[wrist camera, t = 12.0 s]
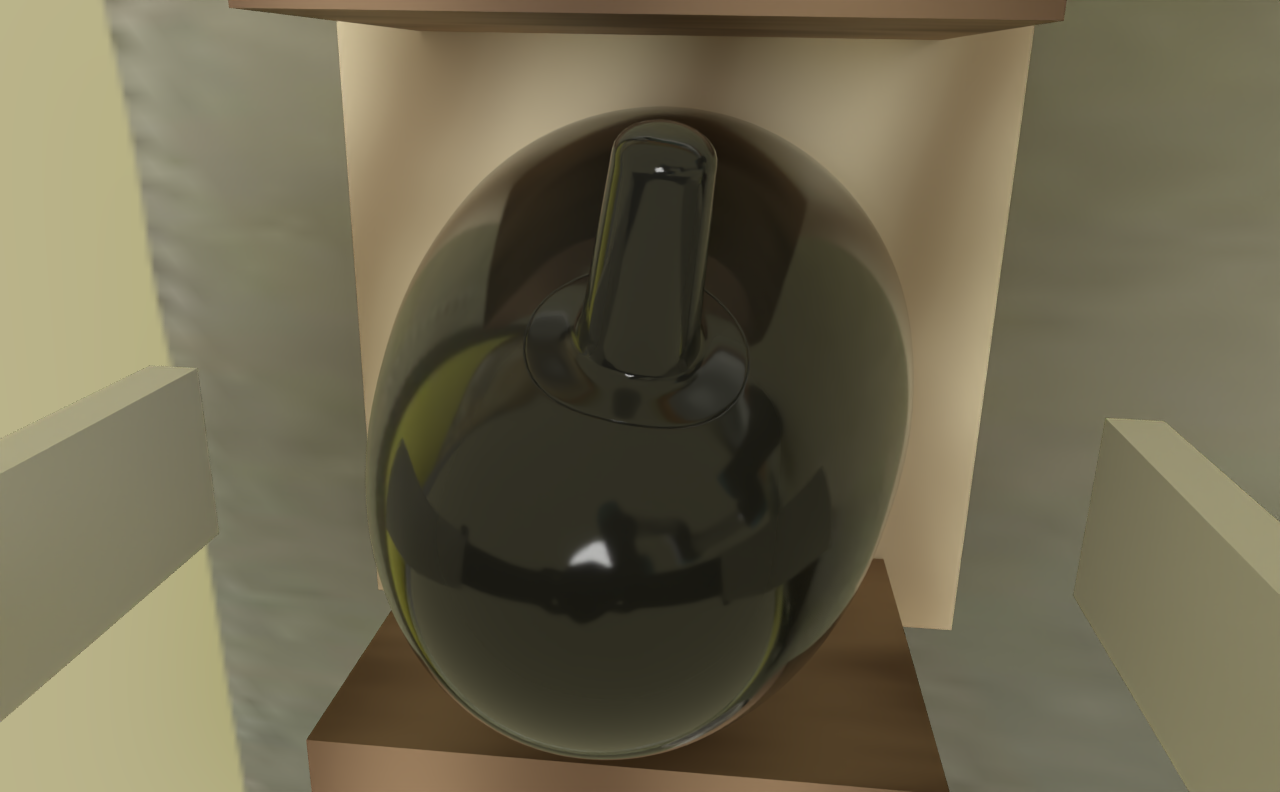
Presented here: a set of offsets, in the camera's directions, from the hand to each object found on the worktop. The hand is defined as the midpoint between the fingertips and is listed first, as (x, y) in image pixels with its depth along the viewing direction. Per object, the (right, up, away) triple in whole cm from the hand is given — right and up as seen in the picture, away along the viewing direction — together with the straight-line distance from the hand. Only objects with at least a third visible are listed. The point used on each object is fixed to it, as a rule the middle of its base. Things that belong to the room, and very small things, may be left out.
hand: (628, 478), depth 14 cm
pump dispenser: (+1, +3, +10) cm, 11 cm away
